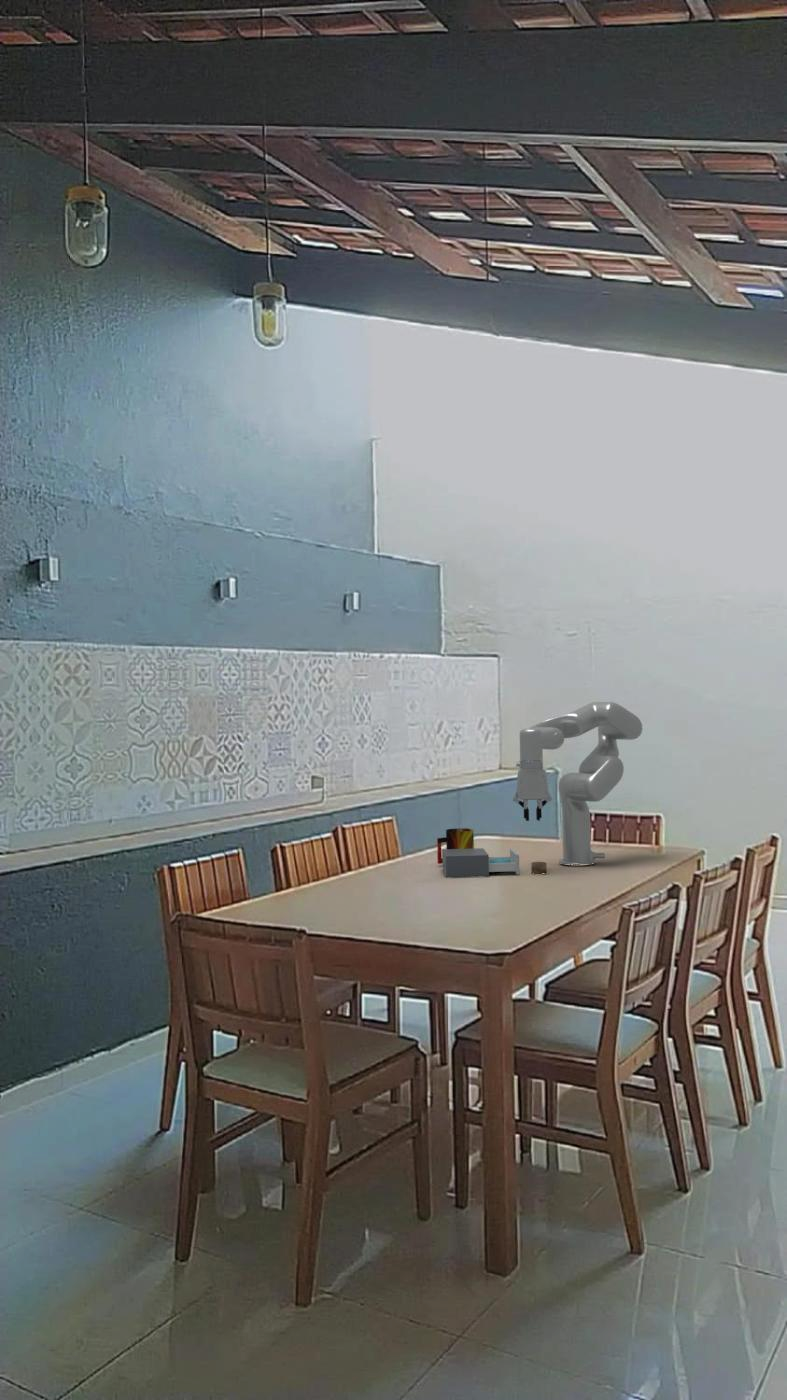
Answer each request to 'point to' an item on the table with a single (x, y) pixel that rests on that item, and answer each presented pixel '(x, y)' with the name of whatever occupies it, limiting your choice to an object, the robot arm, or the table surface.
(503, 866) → the grey drawer
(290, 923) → the table surface
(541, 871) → the brown short rounded cylinder
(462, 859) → the housing
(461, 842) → the mug
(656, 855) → the table surface
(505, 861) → the disc
